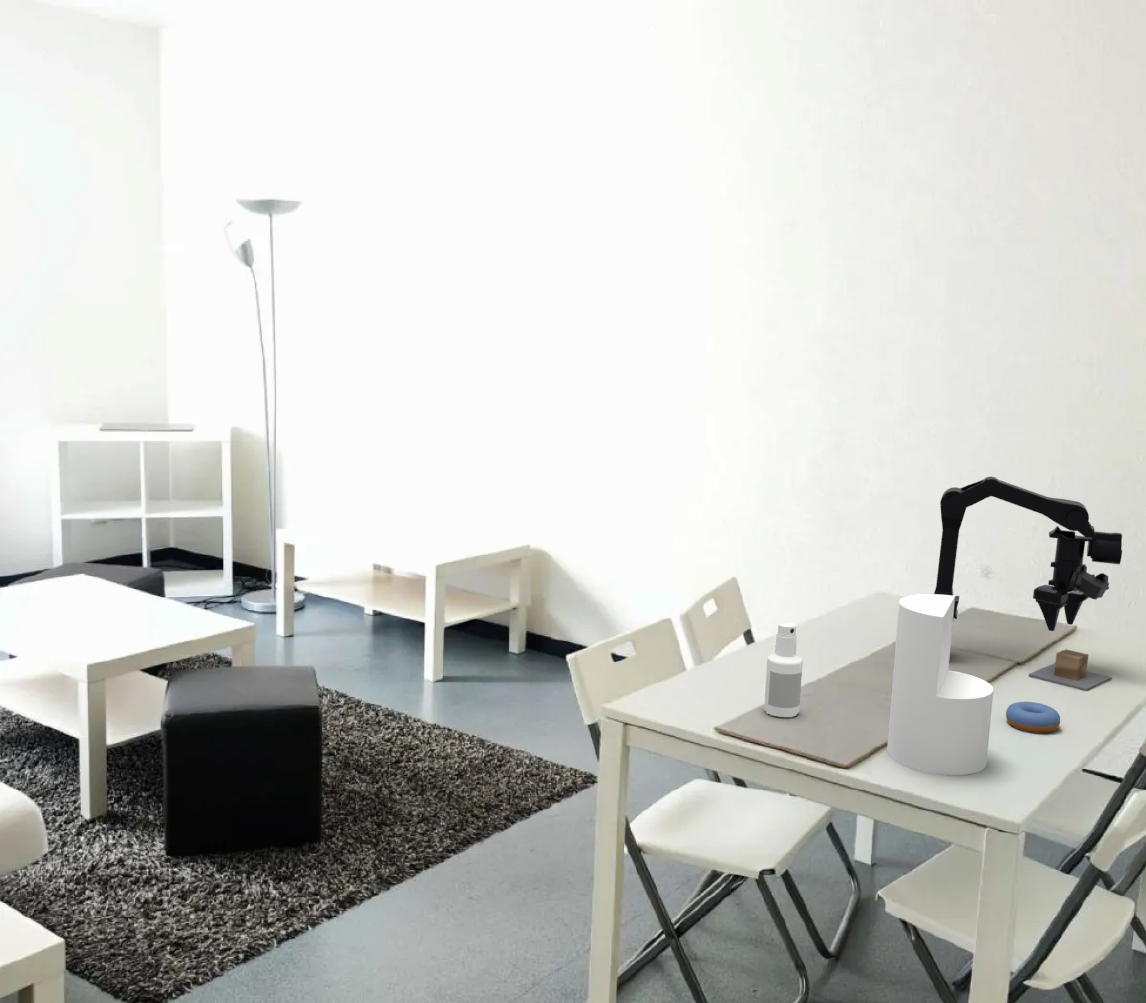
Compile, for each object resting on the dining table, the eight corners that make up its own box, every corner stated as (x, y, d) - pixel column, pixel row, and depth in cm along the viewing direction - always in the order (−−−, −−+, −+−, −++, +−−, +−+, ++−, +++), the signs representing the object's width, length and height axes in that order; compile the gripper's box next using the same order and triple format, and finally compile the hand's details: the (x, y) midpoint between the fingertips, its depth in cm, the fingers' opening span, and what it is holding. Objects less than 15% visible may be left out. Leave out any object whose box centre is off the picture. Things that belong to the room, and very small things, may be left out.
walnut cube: (1076, 680, 264) (1078, 658, 264) (1054, 675, 268) (1056, 653, 267) (1086, 676, 268) (1088, 654, 267) (1064, 670, 271) (1066, 649, 271)
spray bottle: (778, 720, 234) (783, 630, 231) (757, 709, 240) (762, 621, 237) (806, 716, 237) (812, 627, 234) (784, 705, 243) (790, 618, 240)
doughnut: (996, 724, 236) (1001, 702, 235) (1014, 714, 243) (1019, 693, 243) (1046, 742, 230) (1052, 719, 229) (1064, 732, 237) (1069, 710, 236)
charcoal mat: (1086, 691, 259) (1086, 688, 259) (1028, 676, 268) (1028, 674, 268) (1111, 679, 268) (1111, 677, 268) (1054, 665, 277) (1054, 663, 277)
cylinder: (879, 764, 214) (891, 610, 209) (895, 733, 230) (906, 589, 225) (981, 782, 207) (996, 624, 202) (990, 749, 223) (1004, 602, 218)
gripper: (1086, 571, 254) (1078, 643, 257) (1123, 561, 267) (1114, 629, 269) (1035, 561, 262) (1027, 631, 264) (1073, 551, 275) (1065, 618, 277)
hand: (1060, 627), depth 269 cm, fingers open, 9 cm apart
